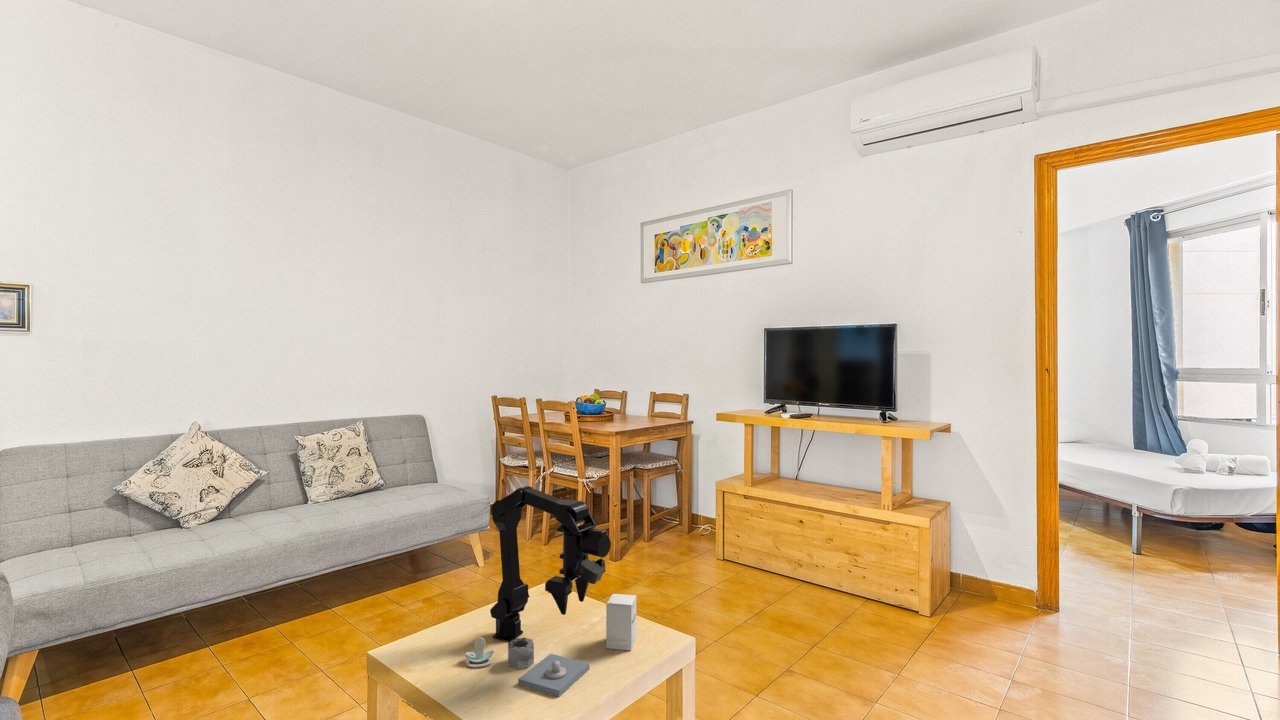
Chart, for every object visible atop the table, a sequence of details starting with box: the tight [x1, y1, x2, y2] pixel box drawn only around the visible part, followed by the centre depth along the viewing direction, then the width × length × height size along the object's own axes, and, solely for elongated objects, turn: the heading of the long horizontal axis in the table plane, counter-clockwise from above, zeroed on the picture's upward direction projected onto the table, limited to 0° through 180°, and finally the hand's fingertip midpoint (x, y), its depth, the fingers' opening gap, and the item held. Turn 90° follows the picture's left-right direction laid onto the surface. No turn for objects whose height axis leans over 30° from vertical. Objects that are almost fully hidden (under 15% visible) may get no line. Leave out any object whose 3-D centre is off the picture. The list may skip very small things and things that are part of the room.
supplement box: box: [605, 593, 637, 651], centre depth 167 cm, size 7×7×13 cm
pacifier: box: [465, 636, 495, 669], centre depth 156 cm, size 7×6×6 cm
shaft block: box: [517, 653, 590, 698], centre depth 149 cm, size 12×14×4 cm
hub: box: [507, 637, 535, 670], centre depth 156 cm, size 6×6×5 cm
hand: (572, 607), depth 159 cm, fingers open, 9 cm apart
